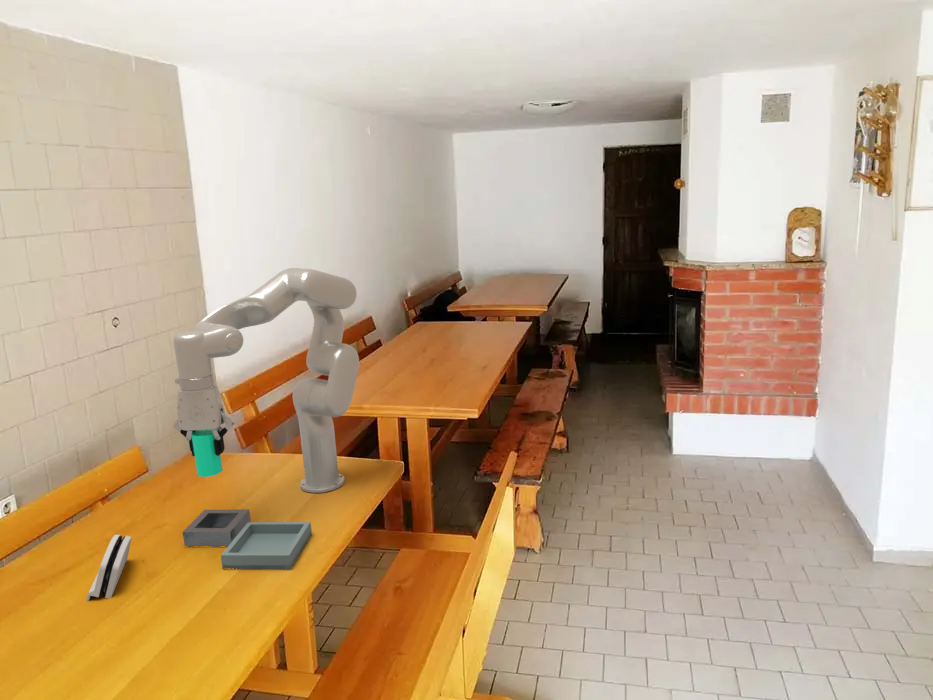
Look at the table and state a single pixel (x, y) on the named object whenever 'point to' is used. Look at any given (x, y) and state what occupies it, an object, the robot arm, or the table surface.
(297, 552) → the tray
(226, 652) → the table surface
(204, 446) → the candle
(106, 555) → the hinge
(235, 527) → the holder
